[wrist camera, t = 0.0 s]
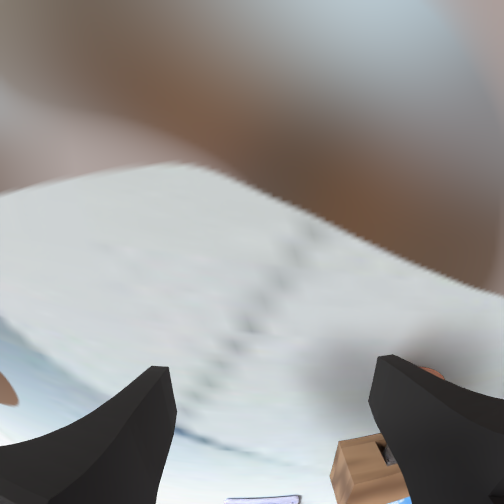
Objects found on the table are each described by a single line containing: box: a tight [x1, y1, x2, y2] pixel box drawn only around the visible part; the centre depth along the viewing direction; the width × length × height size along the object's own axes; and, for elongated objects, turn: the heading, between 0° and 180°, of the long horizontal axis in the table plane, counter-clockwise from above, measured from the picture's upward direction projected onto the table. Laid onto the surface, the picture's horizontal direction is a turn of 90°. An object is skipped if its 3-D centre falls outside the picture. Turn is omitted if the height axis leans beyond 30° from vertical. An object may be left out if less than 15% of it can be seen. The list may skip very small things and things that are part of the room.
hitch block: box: [330, 433, 410, 504], centre depth 21 cm, size 6×10×5 cm, turn 91°
